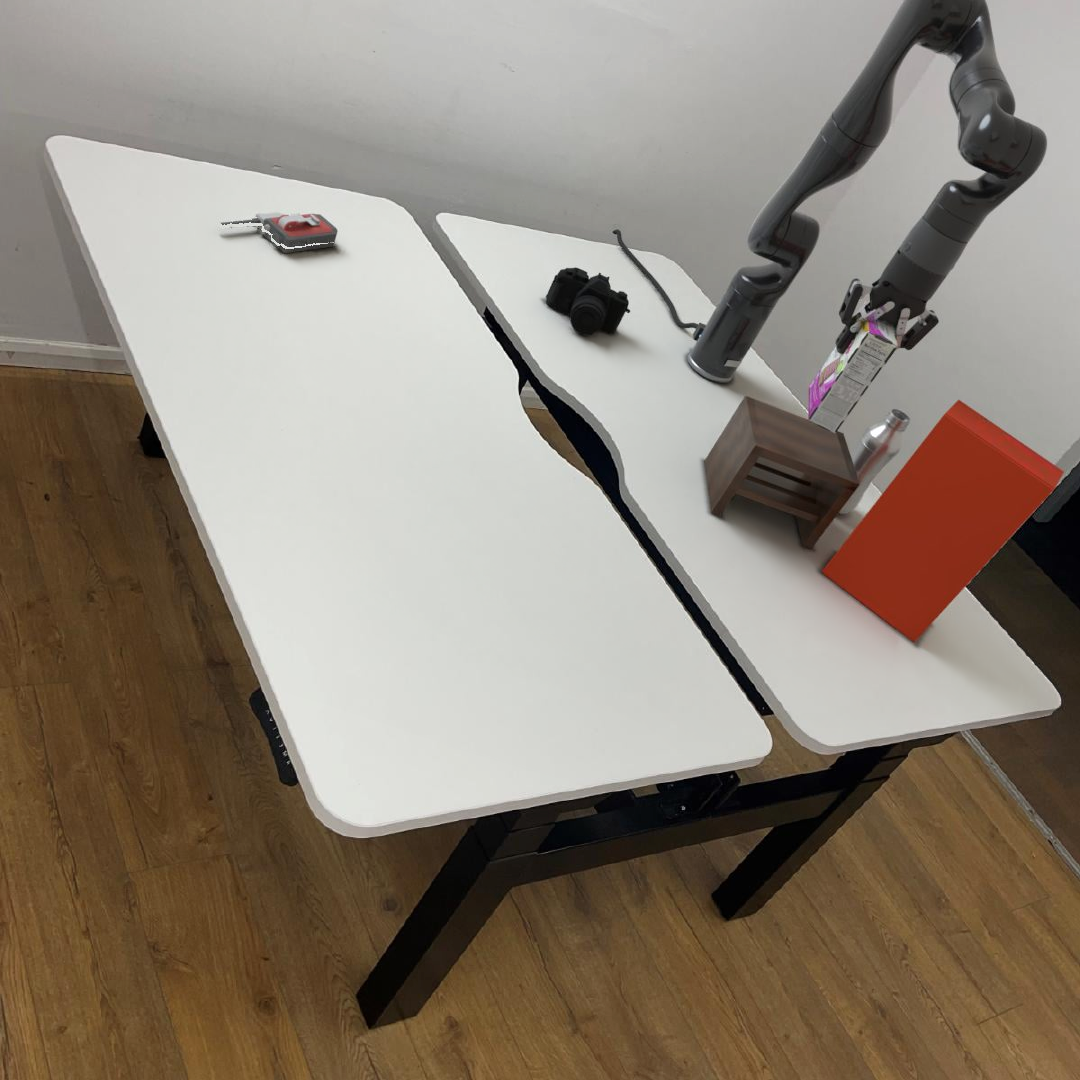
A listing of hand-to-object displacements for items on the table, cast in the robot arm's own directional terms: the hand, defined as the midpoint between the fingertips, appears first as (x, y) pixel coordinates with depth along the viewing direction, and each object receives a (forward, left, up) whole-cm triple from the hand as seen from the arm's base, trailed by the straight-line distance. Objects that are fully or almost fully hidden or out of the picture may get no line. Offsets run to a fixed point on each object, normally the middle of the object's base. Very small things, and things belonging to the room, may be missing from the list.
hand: (856, 357), depth 153 cm
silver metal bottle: (-8, +16, -30) cm, 35 cm away
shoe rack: (0, 0, -29) cm, 29 cm away
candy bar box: (0, 0, -10) cm, 10 cm away
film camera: (-38, -32, -30) cm, 58 cm away
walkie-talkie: (-27, -86, -30) cm, 95 cm away
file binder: (+14, +19, -30) cm, 38 cm away
